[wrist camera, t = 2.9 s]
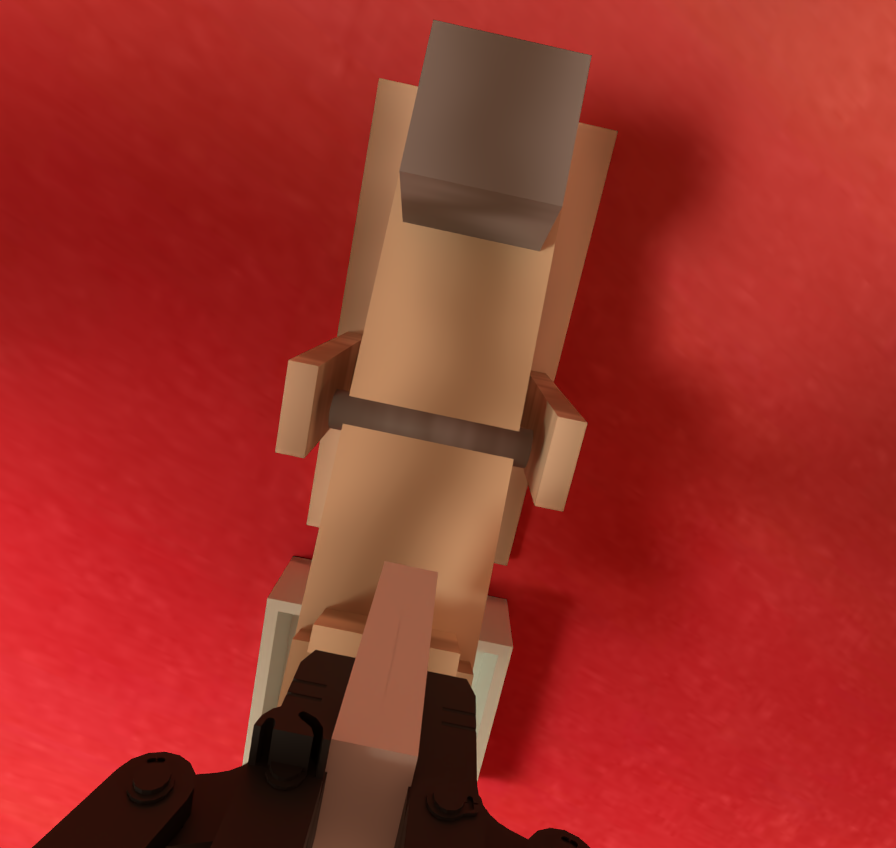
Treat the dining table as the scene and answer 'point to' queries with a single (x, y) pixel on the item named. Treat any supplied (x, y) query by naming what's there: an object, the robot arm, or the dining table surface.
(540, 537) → the dining table surface
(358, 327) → the catapult base
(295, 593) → the shallow square tray
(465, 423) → the lever
